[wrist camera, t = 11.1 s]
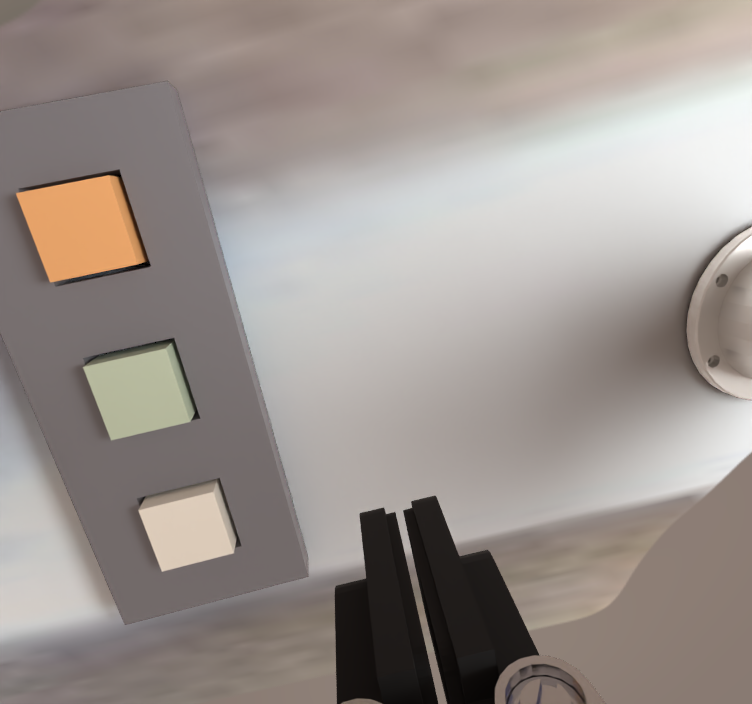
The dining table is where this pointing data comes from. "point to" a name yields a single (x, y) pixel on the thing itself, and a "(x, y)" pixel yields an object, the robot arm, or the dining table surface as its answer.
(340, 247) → the dining table surface
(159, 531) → the cream button
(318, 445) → the dining table surface
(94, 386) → the sage button
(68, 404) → the button panel
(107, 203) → the orange button
